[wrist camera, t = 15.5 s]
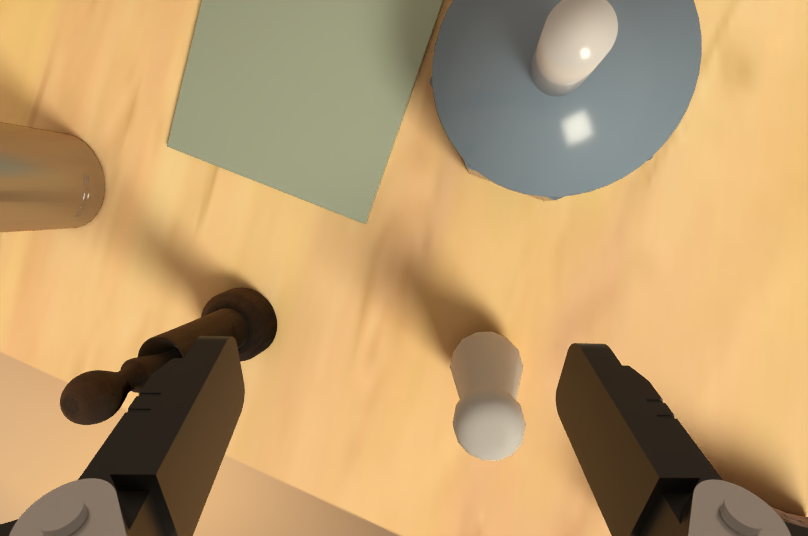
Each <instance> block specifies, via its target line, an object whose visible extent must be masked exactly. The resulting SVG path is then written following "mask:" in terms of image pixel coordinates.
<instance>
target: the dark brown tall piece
mask: <svg viewBox="0 0 808 536" xmlns="http://www.w3.org/2000/svg"><path fill="white" fill-rule="evenodd" d="M276 331H277V319H276V315H275V312H274V310H273V308H272V306H271V304H270V303H269V302H268V301H267V300H266V299H265V298H264V297H263V296H262V295H261V294H259V293H258V292H256V291H254V290H251V289H247V288H235V289H231V290H228V291H226V292H224V293H221V294H218V295H216V296H215V297H213V298H212V299H211V300H209V301H208V303H207V304H206V305H205V307H204V309H203V312H202V316H201V318H199V319H197V320H194V321H192V322H189V323H187V324H185V325H182V326H180V327H177V328H175V329H172V330H170V331H167V332H165V333H162V334H160V335H157V336H155V337H152V338H150V339H148V340H147V341H145V342H144V344H143V345H142V346H141V348H140V350H139V353H138V357H137V358H133V359H130V360H127V361H126V362H125V363H124V364H123V365H122V367H121V370H120V371H119V372H110V371H102V370H95V371H89V372H85V373H83V374H81V375H79V376H77V377H75V378H74V379H73V380H71V381H70V382H69V383H68V384H67V386H66V387H65V389H64V390H63V392H62V395H61V398H60V406H61V410H62V412H63V414H64V416H65V417H67V419H69V420H70V421H72V422H74V423H77V424H82V425H91V424H97V423H100V422H103V421H105V420H107V419H109V418H110V417H112V416H113V415H114V414H115V413H116V412H117V411H118V410H119V409H120V407H121V406H122V404H123V402H124V400H125V398H126V396H127V394H128V393H129V392H130V391H133V392H137V393H139V392H140V391H141V389H142V388H143V386H144V385H145V384H146V382H147V381H148V379H149V378H150V376H151V375H152V374H153V373H154V372H155V371H157V370H158V369H159V368H161V367H162V366H163V365H164V364H166V363H167V362H168V361H170V360H171V359H172V358H184V357H185V355H186V354H187V352H188V350H189V349H190V347H191V346H192V344H193V343H194V341H195V340H196V338H198V337H199V336H228V337H234V338H235V340H236V343H237V348H238V353H239V359H240V361H245V360H249V359H251V358H253V357H255V356H256V355H258V354H259V353H261V352H262V351H264V350H265V349H267V348H268V347H269V346H270V345H271V343H272V342H273V340H274V338H275V335H276Z"/></svg>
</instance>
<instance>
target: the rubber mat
mask: <svg viewBox="0 0 808 536" xmlns="http://www.w3.org/2000/svg"><path fill="white" fill-rule="evenodd" d="M443 1H444V0H202V2H201V6H200V10H199V14H198V18H197V22H196V27H195V31H194V35H193V39H192V43H191V47H190V52H189V56H188V60H187V64H186V68H185V73H184V77H183V81H182V85H181V89H180V93H179V98H178V102H177V106H176V110H175V114H174V118H173V123H172V127H171V131H170V135H169V139H168V144H167V147H170V148H173V149H175V150H178V151H180V152H183V153H185V154H188V155H190V156H193V157H195V158H198V159H201V160H203V161H206V162H208V163H211V164H213V165H216V166H218V167H221V168H223V169H226V170H229V171H231V172H234V173H236V174H239V175H241V176H244V177H246V178H249V179H251V180H254V181H257V182H259V183H262V184H264V185H267V186H269V187H272V188H274V189H277V190H279V191H282V192H285V193H287V194H290V195H292V196H295V197H297V198H300V199H302V200H305V201H307V202H310V203H313V204H315V205H318V206H320V207H323V208H325V209H328V210H330V211H333V212H335V213H338V214H341V215H343V216H346V217H348V218H351V219H353V220H356V221H358V222H361V223H363V224H366V222H367V220H368V217H369V214H370V211H371V208H372V205H373V202H374V199H375V196H376V194H377V191H378V188H379V185H380V182H381V179H382V176H383V173H384V171H385V168H386V165H387V162H388V159H389V156H390V153H391V150H392V148H393V145H394V142H395V139H396V136H397V133H398V130H399V127H400V125H401V122H402V119H403V116H404V113H405V110H406V107H407V104H408V102H409V99H410V96H411V93H412V90H413V87H414V84H415V81H416V78H417V76H418V73H419V70H420V67H421V64H422V61H423V58H424V55H425V53H426V50H427V47H428V44H429V41H430V38H431V35H432V32H433V30H434V27H435V24H436V21H437V18H438V15H439V12H440V9H441V7H442V4H443Z"/></svg>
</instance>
